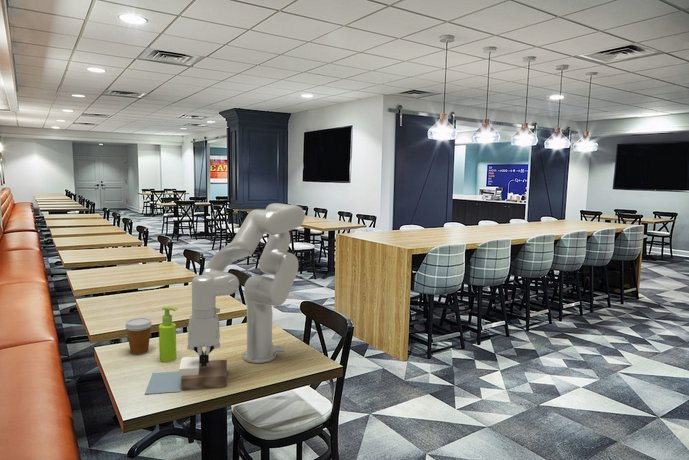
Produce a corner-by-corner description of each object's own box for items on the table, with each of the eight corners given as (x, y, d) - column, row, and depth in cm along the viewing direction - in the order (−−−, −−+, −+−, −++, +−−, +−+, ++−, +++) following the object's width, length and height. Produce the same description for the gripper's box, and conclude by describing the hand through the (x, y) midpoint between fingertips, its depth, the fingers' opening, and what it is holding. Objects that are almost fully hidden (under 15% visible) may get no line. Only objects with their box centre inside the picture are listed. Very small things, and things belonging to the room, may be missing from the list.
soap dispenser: (173, 363, 173) (172, 310, 170) (156, 361, 175) (155, 308, 172) (182, 356, 179) (181, 305, 176) (165, 354, 180) (164, 304, 177)
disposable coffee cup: (148, 356, 178) (147, 325, 177) (122, 356, 178) (120, 325, 176) (156, 346, 188) (155, 317, 186) (131, 346, 187) (130, 317, 185)
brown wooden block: (226, 370, 169) (226, 359, 168) (226, 387, 156) (226, 375, 156) (185, 372, 166) (185, 362, 165) (181, 390, 153) (181, 378, 153)
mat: (184, 371, 167) (184, 370, 167) (179, 392, 152) (179, 391, 152) (152, 373, 164) (152, 373, 164) (144, 394, 150) (144, 393, 150)
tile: (200, 363, 164) (200, 356, 164) (198, 374, 156) (198, 367, 155) (182, 364, 163) (182, 357, 163) (179, 376, 154) (179, 368, 154)
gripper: (227, 308, 163) (226, 359, 165) (181, 309, 159) (181, 361, 162) (226, 315, 156) (226, 368, 158) (179, 317, 152) (179, 371, 155)
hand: (204, 364), depth 160 cm, fingers closed
